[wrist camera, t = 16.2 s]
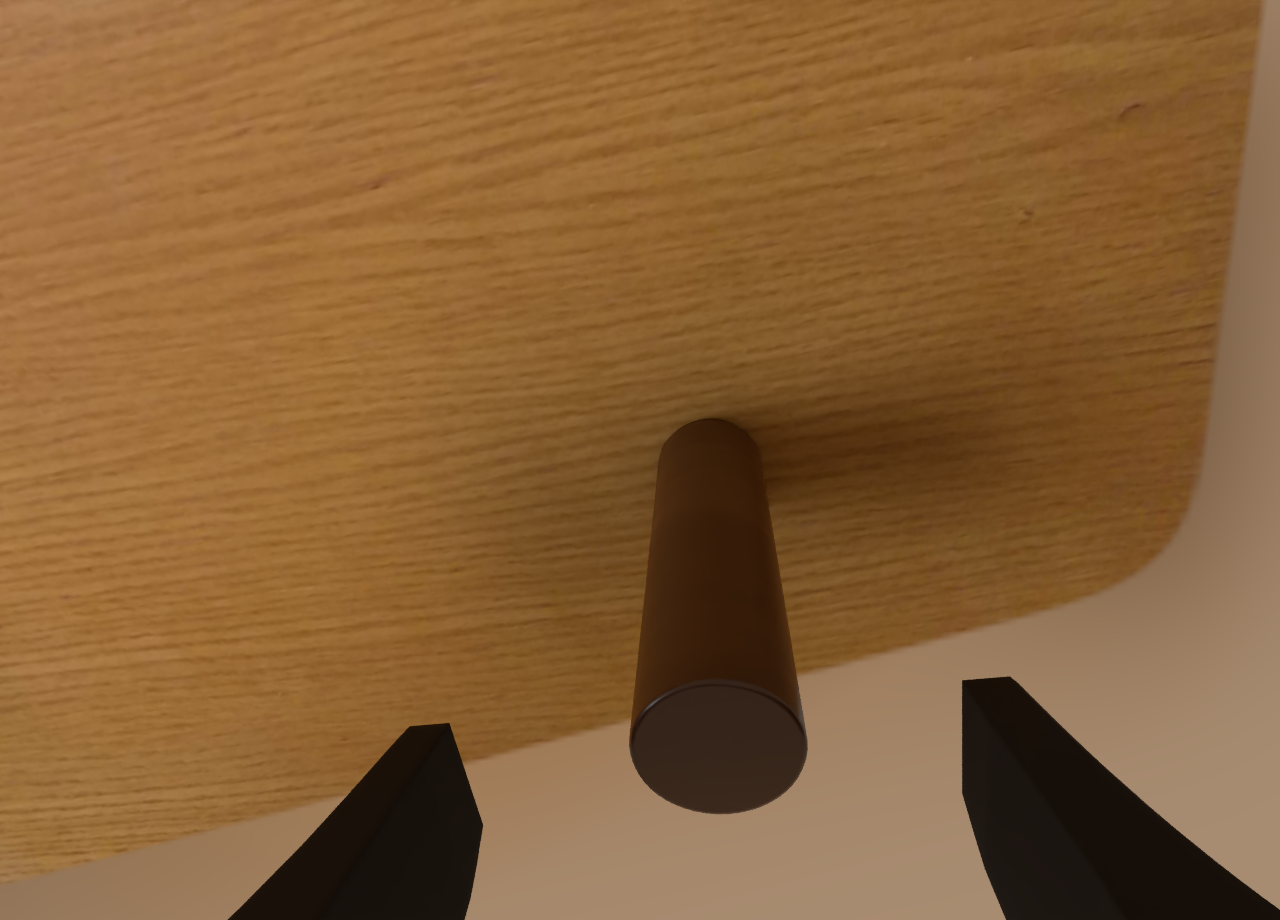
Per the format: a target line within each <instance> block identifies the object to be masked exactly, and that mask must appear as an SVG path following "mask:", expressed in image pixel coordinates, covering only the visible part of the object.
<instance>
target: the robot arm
mask: <svg viewBox="0 0 1280 920" xmlns="http://www.w3.org/2000/svg"><path fill="white" fill-rule="evenodd" d="M962 794H963V797H964V801H965V804H966V808H967V811H968V814H969V818H970V821H971V825H972V828H973V832H974V835H975V838H976V841H977V845H978V848H979V851H980V854H981V858H982V861H983V864H984V867H985V870H986V873H987V875H988V877H989V880H990V882H991V885H992V887H993V889H994V892H995V894H996V897H997V899H998V901H999V904H1000V906H1001V909H1002V911H1003V913H1004V916H1005V918H1006V920H1280V910H1279V909H1278V908H1277V907H1275V906H1274V905H1273V904H1271V903H1270V902H1268V901H1267V900H1266V899H1264V898H1263V897H1261V896H1260V895H1259V894H1258V893H1256V892H1255V891H1254V890H1252V889H1251V888H1249V887H1248V886H1247V885H1246V884H1244V883H1243V882H1241V881H1240V880H1239V879H1238V878H1236V877H1235V876H1234V875H1232V874H1231V873H1230V872H1229V871H1227V870H1226V869H1225V868H1223V867H1222V866H1221V865H1220V864H1218V863H1217V862H1216V861H1214V860H1213V859H1212V858H1211V857H1210V856H1208V855H1207V854H1206V853H1205V852H1203V851H1202V850H1201V849H1200V848H1198V847H1197V846H1196V845H1195V844H1194V843H1192V842H1191V841H1190V840H1189V839H1187V838H1186V837H1185V836H1183V834H1181V833H1180V832H1179V831H1178V830H1176V829H1175V828H1174V827H1173V826H1171V825H1170V824H1169V823H1168V822H1167V821H1165V820H1164V819H1163V818H1162V817H1161V816H1160V815H1158V814H1157V813H1156V812H1155V811H1154V810H1153V809H1152V808H1150V807H1149V806H1148V805H1147V804H1146V803H1145V802H1144V801H1142V800H1141V799H1140V798H1139V797H1138V796H1137V795H1136V794H1134V793H1133V792H1132V791H1131V790H1130V789H1129V788H1128V787H1127V786H1125V785H1124V784H1123V783H1122V782H1121V781H1120V780H1119V779H1118V778H1117V777H1115V776H1114V775H1113V774H1112V773H1111V772H1110V771H1109V770H1108V769H1106V768H1105V767H1104V766H1103V765H1102V764H1101V763H1100V762H1099V761H1098V760H1097V759H1095V758H1094V757H1093V756H1092V755H1091V754H1090V753H1089V752H1088V751H1087V750H1086V749H1085V748H1084V747H1083V746H1082V745H1081V744H1080V743H1079V742H1078V741H1076V740H1075V739H1074V738H1073V737H1072V736H1071V735H1070V734H1069V733H1068V732H1067V731H1066V730H1065V729H1064V728H1063V727H1062V726H1061V725H1060V724H1059V723H1058V722H1057V721H1056V720H1055V719H1054V718H1053V717H1051V716H1050V714H1049V713H1048V712H1047V711H1045V710H1044V709H1043V708H1042V707H1041V706H1040V705H1039V704H1038V703H1037V702H1036V701H1035V700H1034V699H1033V698H1032V697H1031V696H1030V695H1029V694H1028V693H1027V692H1026V691H1025V690H1024V689H1023V688H1022V687H1021V686H1020V685H1019V684H1018V683H1017V682H1016V681H1015V680H1013V679H1012V678H1011V677H997V678H985V679H974V680H963V681H962ZM482 828H483V823H482V820H481V817H480V814H479V811H478V808H477V805H476V803H475V799H474V796H473V793H472V790H471V787H470V784H469V781H468V778H467V775H466V772H465V769H464V766H463V763H462V760H461V757H460V754H459V751H458V748H457V745H456V742H455V739H454V736H453V733H452V730H451V727H450V724H449V723H444V724H432V725H420V726H410V727H409V728H408V729H407V730H406V731H405V732H404V733H403V734H402V735H401V736H400V737H399V738H398V739H397V740H396V742H395V743H394V744H393V745H392V746H391V747H390V748H389V749H388V750H387V752H386V753H385V754H384V755H383V756H382V757H381V758H380V759H379V761H378V762H377V763H376V764H375V765H374V766H373V767H372V768H371V770H370V771H369V772H368V773H367V774H366V775H365V776H364V777H363V779H362V780H361V781H360V782H359V783H358V784H357V785H356V786H355V788H354V789H353V790H352V791H351V792H350V793H349V794H348V795H347V796H346V798H345V799H344V800H343V801H342V802H341V803H340V804H339V805H338V806H337V808H336V809H335V810H334V811H333V812H332V813H331V814H330V815H329V816H328V818H326V820H325V821H324V822H323V823H322V824H321V825H320V826H319V827H318V828H317V829H316V831H315V832H314V833H313V834H312V835H311V836H310V837H309V838H308V839H307V840H306V841H305V842H304V843H303V845H302V846H301V847H300V848H299V849H298V850H297V851H296V852H295V853H294V854H293V855H292V856H291V857H290V858H289V859H288V860H287V861H286V862H285V863H284V864H283V865H282V866H281V867H280V868H279V869H278V870H277V871H276V872H275V873H274V874H273V875H272V876H271V877H270V878H269V879H268V880H267V881H266V882H265V883H264V884H263V885H262V886H261V887H260V888H259V889H258V890H257V891H256V892H255V893H254V894H253V895H252V896H251V897H250V899H248V900H247V901H246V903H244V904H243V905H242V906H241V907H240V909H238V910H237V911H236V912H235V913H234V914H233V915H232V916H231V917H230V918H229V919H228V920H464V919H465V916H466V912H467V909H468V905H469V902H470V898H471V893H472V888H473V882H474V877H475V872H476V866H477V860H478V854H479V847H480V841H481V835H482Z"/></svg>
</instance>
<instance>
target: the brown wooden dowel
mask: <svg viewBox="0 0 1280 920" xmlns="http://www.w3.org/2000/svg"><path fill="white" fill-rule="evenodd" d="M629 746H630V754H631V757H632V761H633V763H634V766H635V768H636V770H637V772H638V774H639V775H640V777H641V778H642V779H643V781H644V782H645V783H646V784H647V785H648V786H649V788H650V789H652V790H653V791H654V792H655V793H656V794H658V795H659V796H661V797H662V798H664V799H665V800H667V801H669V802H671V803H673V804H675V805H677V806H680V807H683V808H685V809H689V810H692V811H697V812H702V813H710V814H732V813H740V812H745V811H749V810H752V809H756V808H759V807H761V806H763V805H766V804H768V803H770V802H772V801H773V800H775V799H777V798H778V797H779V796H781V795H782V794H783V793H785V792H786V791H787V790H788V789H789V788H790V787H791V786H792V785H793V783H794V782H795V781H796V780H797V778H798V776H799V775H800V773H801V771H802V769H803V766H804V763H805V760H806V756H807V736H806V730H805V723H804V717H803V711H802V705H801V699H800V693H799V687H798V681H797V675H796V669H795V662H794V656H793V650H792V644H791V638H790V632H789V626H788V620H787V614H786V608H785V601H784V595H783V589H782V583H781V577H780V571H779V565H778V559H777V553H776V547H775V541H774V534H773V528H772V522H771V516H770V510H769V504H768V498H767V492H766V486H765V480H764V473H763V467H762V461H761V456H760V453H759V450H758V448H757V446H756V444H755V442H754V441H753V439H752V438H751V437H750V436H749V435H748V434H747V433H746V432H745V431H743V430H742V429H741V428H739V427H737V426H735V425H733V424H731V423H728V422H725V421H720V420H701V421H696V422H693V423H690V424H688V425H685V426H683V427H682V428H680V429H679V430H677V431H676V432H675V433H674V434H673V435H672V436H671V437H670V438H669V439H668V440H667V442H666V443H665V445H664V447H663V449H662V451H661V454H660V458H659V465H658V474H657V484H656V493H655V502H654V512H653V521H652V531H651V540H650V549H649V559H648V568H647V578H646V587H645V597H644V606H643V615H642V625H641V634H640V644H639V653H638V662H637V672H636V681H635V691H634V700H633V710H632V719H631V728H630V740H629Z"/></svg>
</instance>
